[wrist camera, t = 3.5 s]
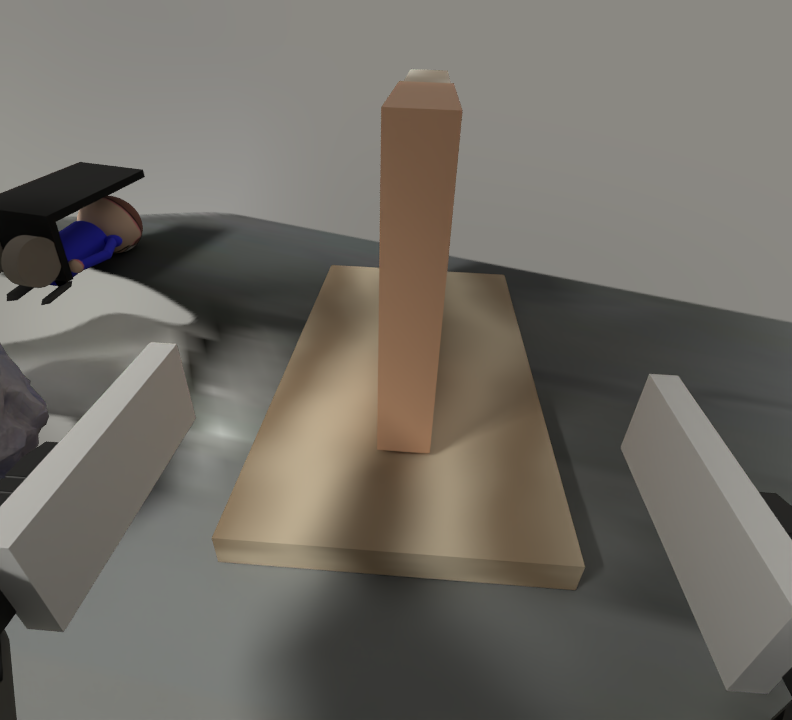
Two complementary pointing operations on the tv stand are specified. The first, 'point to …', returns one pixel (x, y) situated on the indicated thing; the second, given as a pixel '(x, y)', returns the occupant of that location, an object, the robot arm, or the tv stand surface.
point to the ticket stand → (406, 471)
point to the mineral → (17, 414)
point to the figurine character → (77, 243)
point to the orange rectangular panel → (414, 255)
